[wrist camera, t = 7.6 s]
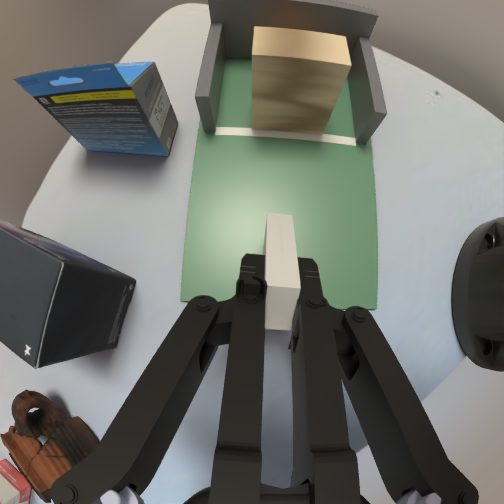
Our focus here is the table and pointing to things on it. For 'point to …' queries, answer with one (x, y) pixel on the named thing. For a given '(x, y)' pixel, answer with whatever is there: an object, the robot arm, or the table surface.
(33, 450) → the pottery mug
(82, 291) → the small box
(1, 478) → the ink cartridge box
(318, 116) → the wooden block
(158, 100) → the label tape cartridge
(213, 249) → the pitch
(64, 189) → the table surface
